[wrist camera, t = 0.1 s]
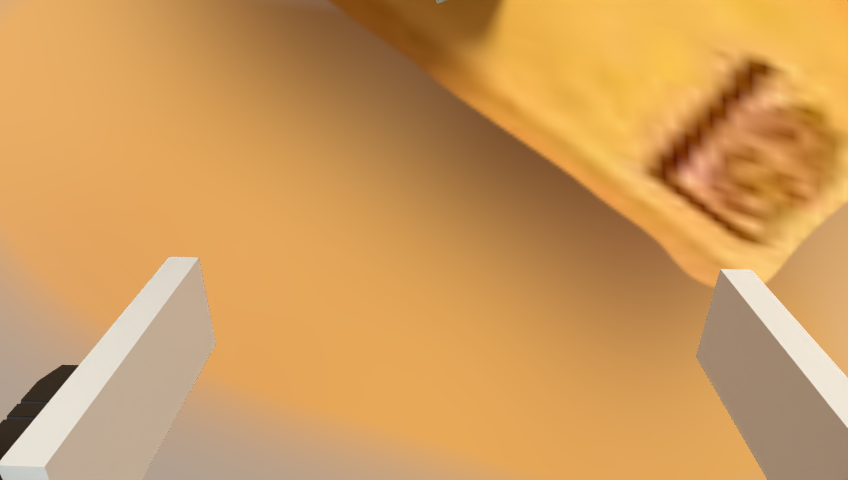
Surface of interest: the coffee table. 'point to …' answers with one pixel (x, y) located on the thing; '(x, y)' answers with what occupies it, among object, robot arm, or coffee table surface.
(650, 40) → the coffee table surface
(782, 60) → the coffee table surface
